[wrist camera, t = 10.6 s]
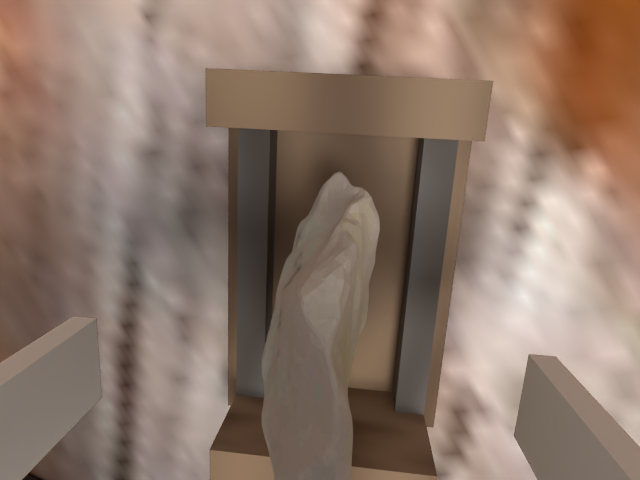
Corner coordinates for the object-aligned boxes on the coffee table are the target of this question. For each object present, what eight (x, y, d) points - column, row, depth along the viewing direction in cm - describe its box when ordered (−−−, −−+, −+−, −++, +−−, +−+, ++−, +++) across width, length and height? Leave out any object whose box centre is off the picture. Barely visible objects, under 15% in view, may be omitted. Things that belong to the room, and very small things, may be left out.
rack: (234, 393, 27) (188, 484, 20) (235, 88, 22) (178, 67, 15) (430, 414, 26) (454, 517, 19) (471, 99, 21) (523, 82, 15)
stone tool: (306, 157, 22) (218, 197, 7) (377, 166, 22) (434, 224, 7) (285, 353, 24) (188, 676, 10) (348, 362, 24) (345, 702, 10)
